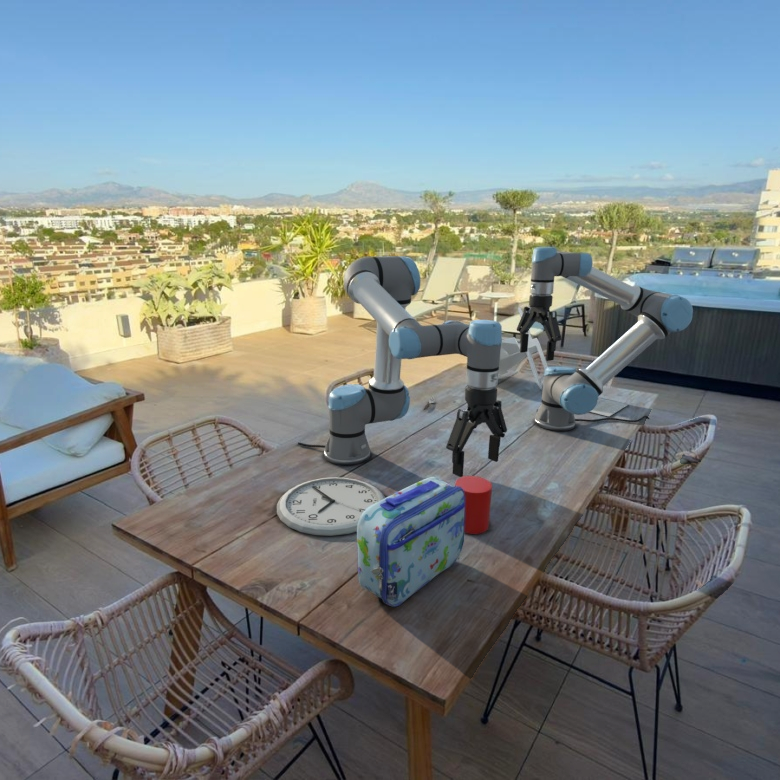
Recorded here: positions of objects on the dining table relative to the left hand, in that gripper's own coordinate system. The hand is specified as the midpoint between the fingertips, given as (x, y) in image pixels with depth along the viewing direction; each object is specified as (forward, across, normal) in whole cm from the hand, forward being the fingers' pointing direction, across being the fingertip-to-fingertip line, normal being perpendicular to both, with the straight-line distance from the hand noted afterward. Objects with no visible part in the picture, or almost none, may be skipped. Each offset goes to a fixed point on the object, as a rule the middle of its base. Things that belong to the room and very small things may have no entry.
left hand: (475, 467), depth 131 cm
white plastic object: (+16, +111, +73) cm, 134 cm away
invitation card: (+16, +115, +25) cm, 119 cm away
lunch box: (+16, -27, -6) cm, 32 cm away
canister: (+16, -1, 0) cm, 16 cm away
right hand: (-15, +60, +25) cm, 67 cm away
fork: (+16, +58, +73) cm, 94 cm away
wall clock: (+16, -23, +30) cm, 41 cm away
